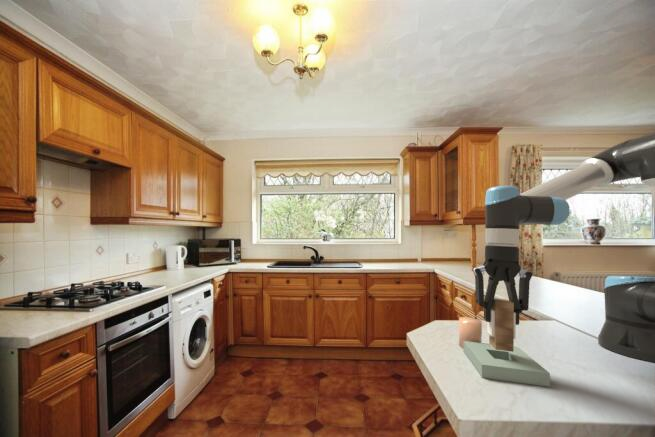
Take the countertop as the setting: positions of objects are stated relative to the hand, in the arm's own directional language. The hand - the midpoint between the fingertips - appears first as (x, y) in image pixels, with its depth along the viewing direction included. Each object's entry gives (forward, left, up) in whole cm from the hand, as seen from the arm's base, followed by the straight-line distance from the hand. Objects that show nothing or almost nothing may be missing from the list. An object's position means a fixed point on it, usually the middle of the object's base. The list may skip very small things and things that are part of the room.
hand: (501, 335), depth 68 cm
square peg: (0, 0, -3) cm, 3 cm away
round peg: (+4, -11, -8) cm, 14 cm away
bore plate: (0, 0, -8) cm, 8 cm away
